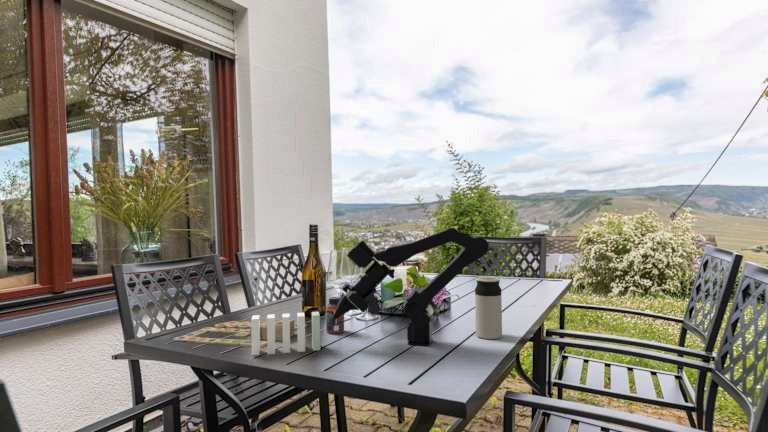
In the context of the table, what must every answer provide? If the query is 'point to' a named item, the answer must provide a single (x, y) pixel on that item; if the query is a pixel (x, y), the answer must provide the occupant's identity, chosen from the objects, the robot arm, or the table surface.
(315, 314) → the domino
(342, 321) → the supplement bottle
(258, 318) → the domino
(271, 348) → the domino
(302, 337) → the domino
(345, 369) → the table surface
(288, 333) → the domino
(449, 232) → the robot arm
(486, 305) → the travel mug
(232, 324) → the pile of dominoes
